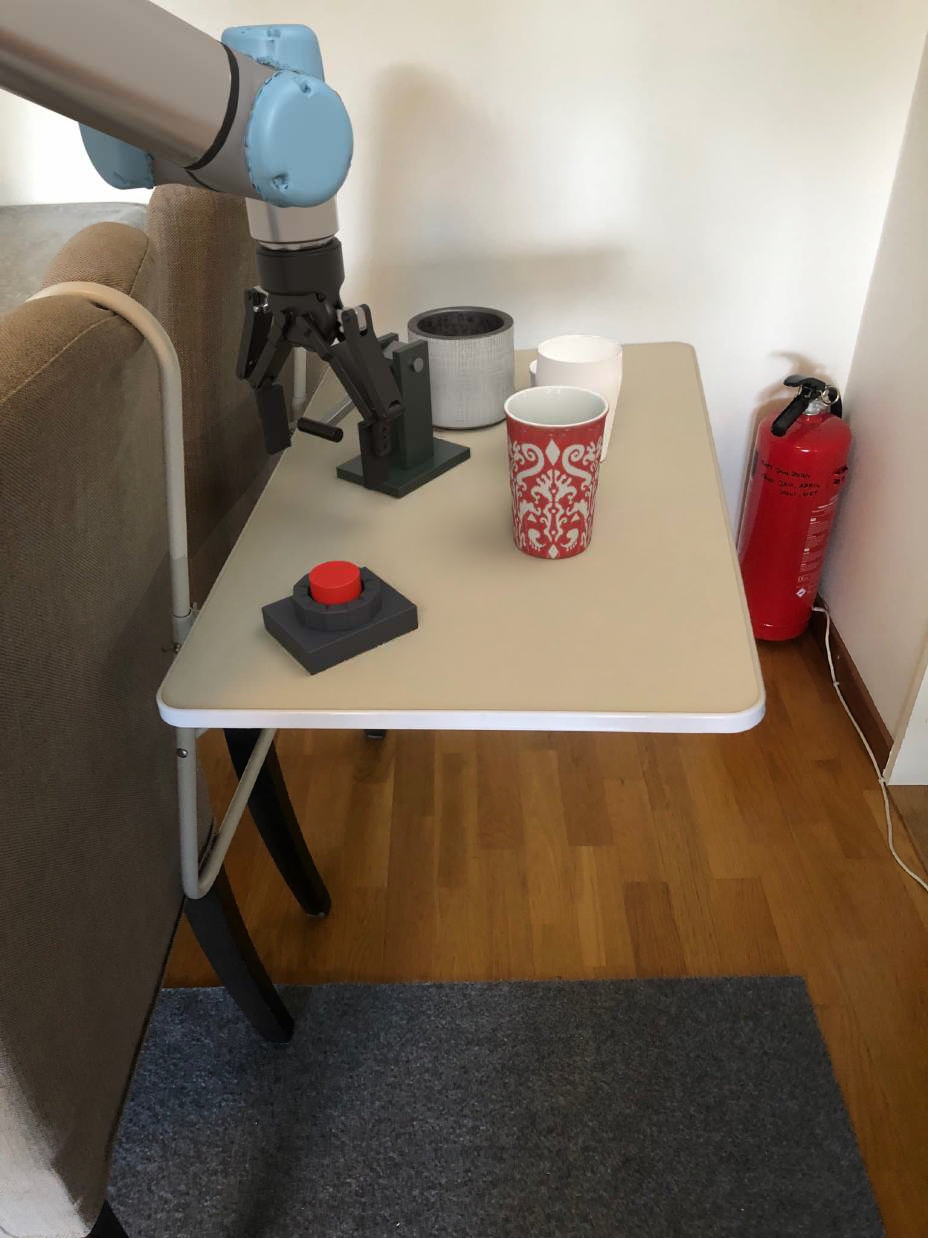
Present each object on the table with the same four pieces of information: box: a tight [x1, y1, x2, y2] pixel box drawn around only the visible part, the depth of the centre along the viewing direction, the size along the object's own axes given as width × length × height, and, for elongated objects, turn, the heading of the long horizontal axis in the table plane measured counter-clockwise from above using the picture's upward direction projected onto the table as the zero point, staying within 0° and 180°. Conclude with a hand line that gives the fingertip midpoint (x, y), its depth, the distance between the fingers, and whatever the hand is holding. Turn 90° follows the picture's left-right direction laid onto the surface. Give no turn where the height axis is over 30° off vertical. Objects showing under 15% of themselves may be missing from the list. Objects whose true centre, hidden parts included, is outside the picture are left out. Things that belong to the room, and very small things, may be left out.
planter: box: [406, 305, 516, 431], centre depth 109 cm, size 13×13×11 cm
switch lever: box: [296, 340, 408, 444], centre depth 91 cm, size 14×5×2 cm, turn 142°
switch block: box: [261, 566, 419, 676], centre depth 75 cm, size 10×8×4 cm
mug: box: [503, 386, 610, 560], centre depth 84 cm, size 13×9×14 cm
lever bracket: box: [335, 331, 472, 499], centre depth 96 cm, size 12×9×14 cm
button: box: [309, 560, 362, 605], centre depth 73 cm, size 4×4×2 cm
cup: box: [536, 334, 623, 463], centre depth 98 cm, size 9×9×12 cm
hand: (326, 466), depth 91 cm, fingers open, 13 cm apart
